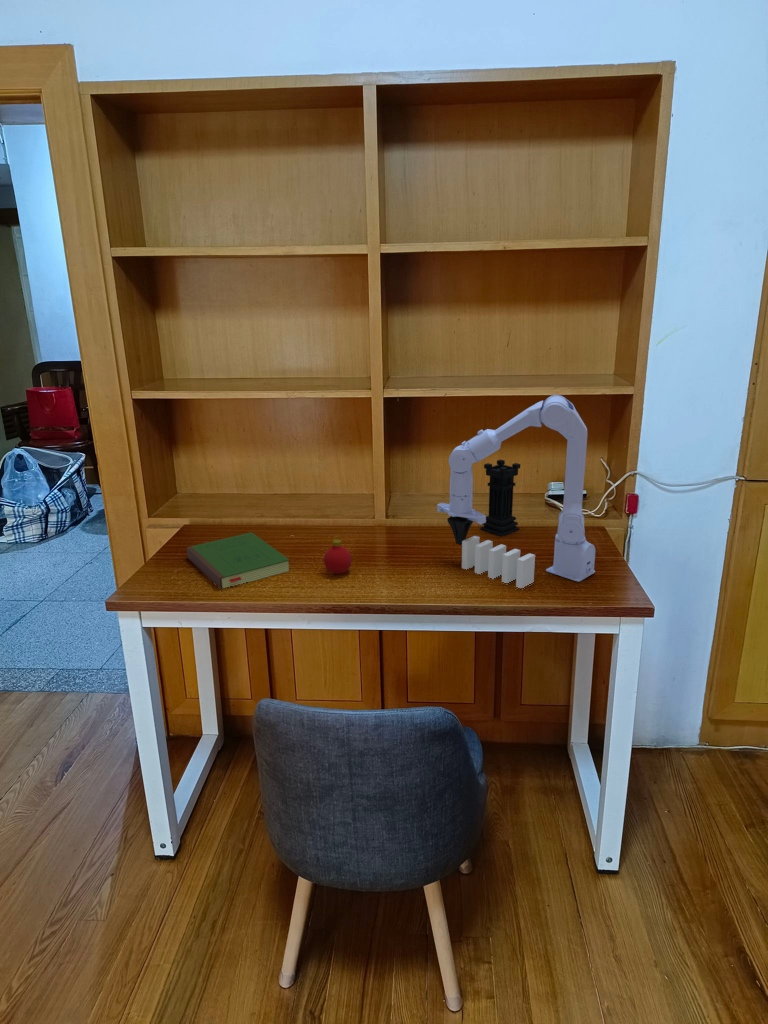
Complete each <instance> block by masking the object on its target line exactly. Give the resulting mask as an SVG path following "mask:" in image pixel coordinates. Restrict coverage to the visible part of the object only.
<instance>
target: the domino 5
mask: <svg viewBox="0 0 768 1024" xmlns="http://www.w3.org/2000/svg"><path fill="white" fill-rule="evenodd" d="M535 559H536V554H533V553H530V552H529V553H527V554H525V555H523V556H520V558H519V559H517V577H516V580H515V588H516V587H518V588H524V587H525V586H527V585H529V584H531V583H533V582H534V581H535V580H534V579H535V567H536V565H535V562H536V560H535ZM533 584H534V583H533ZM531 585H532V584H531ZM529 586H530V585H529ZM518 588H517V589H518ZM524 589H525V588H524Z"/></svg>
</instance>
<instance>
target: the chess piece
mask: <svg viewBox="0 0 768 1024" xmlns="http://www.w3.org/2000/svg"><path fill="white" fill-rule="evenodd" d="M505 461H506V460H504V459H497V460H496V464H495V465H493V464H492V463H489V462H487V463H484V464H483V466H484V467H483V469H484V470H485V475H486V476H488V477H489V482H487V487H489V489H488V490H489V491H488V515H487V516H486V523H483V524H481V525H482V526H481V527H480V529H479V530H480V531H483V532H485V533H489V534H492V535H494V536H496V537H497V536H498V537H500V538H503V537H505V536H508V535H510V534H513V533H516V532H518V531H520V527H519V526H518V523H519V522H517V521H516V520H517V517H516V516H514V515H513V503H514V487H515V486H516V482H514V481H515V480H514V479H515V477H516V476H518V475H519V469H521V463H518V462H515V463H512V464H511V465H512V466H511V465H507V464H506V462H505Z"/></svg>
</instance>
